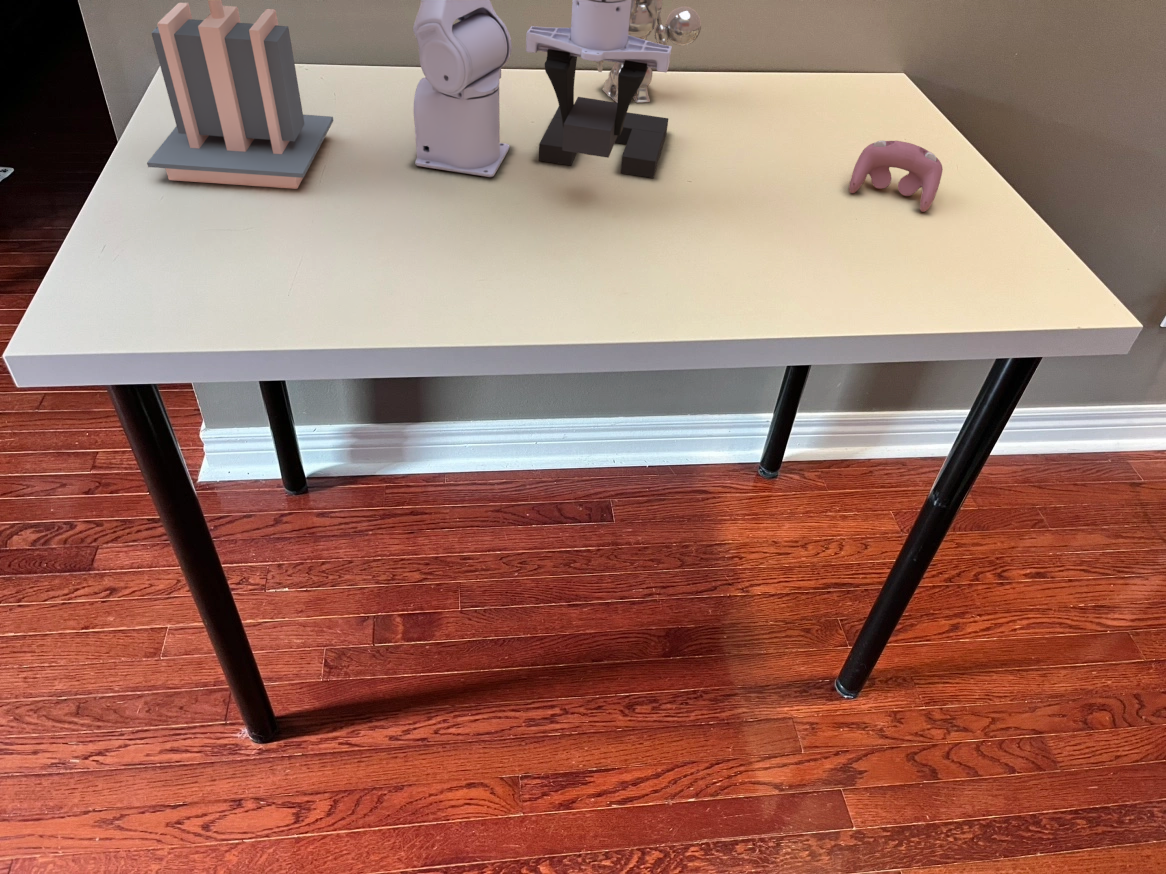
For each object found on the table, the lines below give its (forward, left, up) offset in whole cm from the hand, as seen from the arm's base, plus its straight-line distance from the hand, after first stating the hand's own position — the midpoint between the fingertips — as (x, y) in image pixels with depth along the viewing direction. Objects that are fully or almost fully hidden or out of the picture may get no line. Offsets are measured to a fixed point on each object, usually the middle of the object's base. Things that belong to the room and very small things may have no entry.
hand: (592, 127), depth 94 cm
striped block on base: (-39, -3, -8) cm, 40 cm away
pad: (0, 0, -1) cm, 1 cm away
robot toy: (+2, +30, -9) cm, 31 cm away
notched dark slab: (0, +13, -8) cm, 15 cm away
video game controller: (+35, +12, -9) cm, 38 cm away
